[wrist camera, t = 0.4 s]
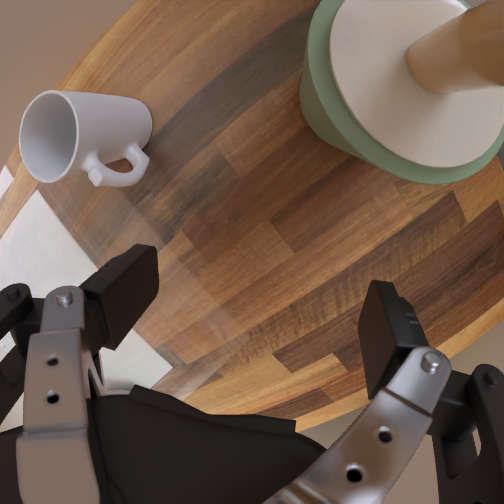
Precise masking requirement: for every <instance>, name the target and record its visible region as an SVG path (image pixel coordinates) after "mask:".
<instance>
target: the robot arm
mask: <svg viewBox="0 0 504 504" xmlns="http://www.w3.org/2000/svg"><path fill="white" fill-rule="evenodd" d="M158 290H159V273H158V258H157V250H156V248H155V247H154V246H149V245H143V244H135V245H134V246H132V247H131V248H130V249H129V250H127V251H126V252H125V253H124V254H121V255H119V256H117V257H114V258H112V259H111V260H109V261H108V262H107V263H106V264H105V265H104V266H102V267H101V268H100V269H99V270H98V272H95V273H94V274H93V275H91V276H90V277H89V278H88V279H87V280H86V281H84V282H83V283H82V284H81V285H80V286H79V287H76V286H63V287H59V288H57V289H54V290H53V291H51V292H50V293H49V294H48V295H47V296H46V298H32V295H31V292H30V288H29V286H28V285H26V284H23V283H17V284H13V285H10V286H7V287H6V288H4V289H3V290H1V291H0V340H1V339H2V338H3V337H4V336H5V335H6V334H7V333H8V332H9V331H10V333H11V335H12V338H13V340H14V342H15V344H16V345H15V346H14V347H13V348H12V349H11V351H10V352H9V353H8V354H7V355H6V356H5V357H4V359H3V360H2V361H1V362H0V425H1V423H2V422H3V420H4V419H5V417H6V416H7V414H8V413H9V412H10V410H11V409H12V407H13V406H14V404H15V403H16V402H17V400H18V399H19V397H20V396H21V395H22V393H23V392H24V401H23V425H22V426H19V427H16V428H13V429H10V430H7V431H4V432H1V433H0V504H380V503H381V502H382V501H383V499H384V498H385V497H386V495H387V494H388V493H389V491H390V490H391V488H392V487H393V486H394V484H395V483H396V481H397V480H398V478H399V477H400V475H401V474H402V472H403V471H404V469H405V468H406V466H407V465H408V463H409V461H410V460H411V458H412V456H413V455H414V453H415V451H416V450H417V448H418V446H419V445H420V443H421V441H422V439H423V438H424V436H425V434H428V435H432V441H433V447H434V455H435V463H436V472H437V481H438V493H439V504H504V374H503V373H502V372H501V371H500V370H499V369H497V368H496V367H494V366H492V365H489V364H480V365H478V366H477V367H476V368H475V370H474V371H473V373H472V374H471V375H468V374H464V373H461V372H457V371H454V370H451V364H450V361H449V360H448V358H447V357H446V356H445V355H444V354H443V353H442V352H440V351H439V350H437V349H435V348H432V347H430V346H429V343H428V341H427V339H426V336H425V334H424V332H423V329H422V327H421V325H420V324H419V320H418V318H417V317H416V314H415V311H414V309H413V307H412V305H411V304H410V303H409V302H408V301H407V300H405V299H404V298H403V297H399V296H398V294H397V291H396V289H395V287H394V285H393V283H392V282H386V281H379V280H372V281H371V283H370V285H369V288H368V291H367V295H366V298H365V301H364V304H363V307H362V310H361V313H360V317H359V322H358V334H359V340H360V346H361V352H362V358H363V364H364V371H365V377H366V384H367V392H368V400H372V401H371V402H370V403H369V404H368V405H367V407H366V408H365V409H364V411H362V413H361V414H360V415H359V416H358V417H357V418H356V419H355V421H354V422H353V423H352V424H351V425H350V426H349V427H348V428H347V429H346V431H345V432H344V433H343V434H342V435H341V436H340V437H339V438H338V439H337V440H336V441H335V442H334V443H333V444H332V445H331V446H330V447H329V448H328V449H326V448H324V447H323V446H322V445H320V444H319V443H317V442H316V441H314V440H312V439H311V438H309V437H306V436H304V435H302V434H299V433H296V432H295V427H296V420H289V419H282V418H274V417H268V416H261V415H255V414H246V415H213V414H207V413H204V412H202V411H200V410H198V409H196V408H194V407H192V406H190V405H188V404H186V403H184V402H182V401H180V400H178V399H177V398H175V397H173V396H171V395H168V394H164V393H161V392H158V391H154V390H151V389H148V388H145V387H142V386H139V385H136V384H135V385H134V387H133V388H132V390H131V392H130V393H129V394H111V395H107V391H106V386H105V380H104V374H103V368H102V361H101V355H100V352H99V350H100V349H101V348H102V347H105V348H108V349H111V350H114V351H115V350H116V348H117V347H118V346H119V344H120V343H121V342H122V340H123V339H124V338H125V336H126V335H127V334H128V332H129V331H130V330H131V329H132V327H133V326H134V325H135V323H136V322H137V321H138V319H139V318H140V317H141V316H142V314H143V313H144V312H145V310H146V309H147V308H148V307H149V305H150V304H151V303H152V301H153V300H154V299H155V298H156V296H157V293H158ZM476 428H477V429H478V433H479V437H480V441H481V451H480V454H479V456H477V451H476V447H475V442H474V438H473V434H472V433H473V432H474V430H475V429H476Z"/></svg>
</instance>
